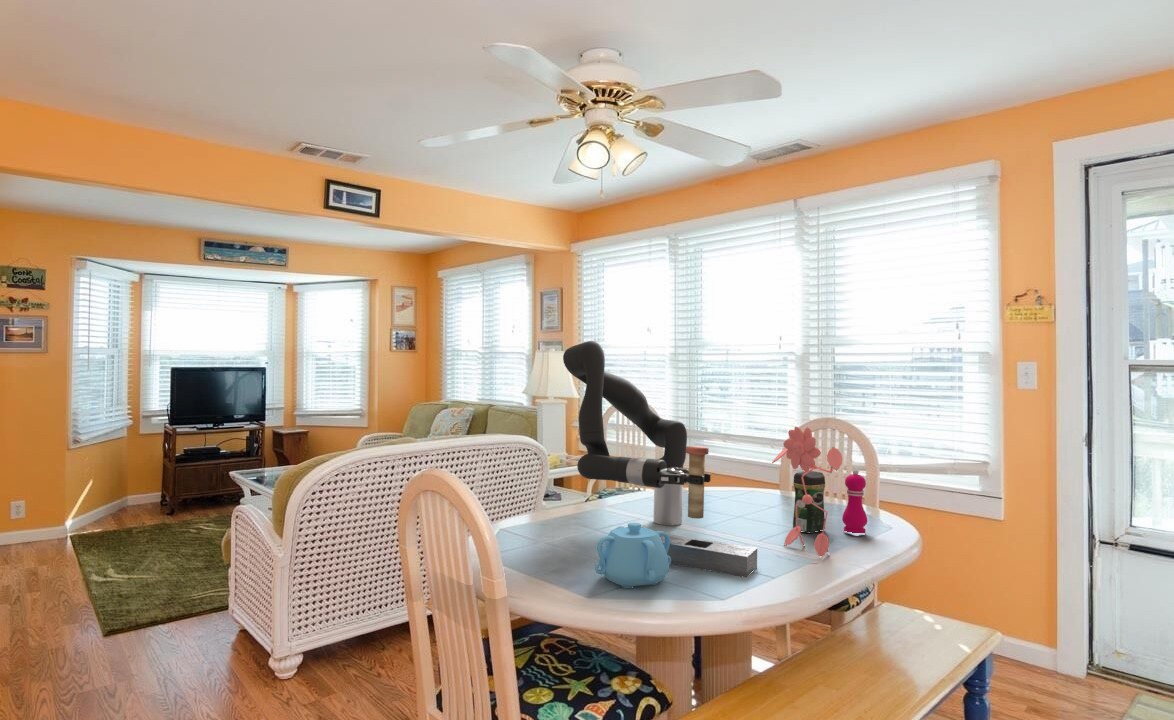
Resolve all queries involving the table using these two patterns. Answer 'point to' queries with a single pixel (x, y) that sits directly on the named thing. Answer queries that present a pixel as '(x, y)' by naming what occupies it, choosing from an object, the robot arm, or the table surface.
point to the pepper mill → (855, 504)
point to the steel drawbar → (712, 555)
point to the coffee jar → (809, 514)
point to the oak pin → (696, 490)
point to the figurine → (804, 454)
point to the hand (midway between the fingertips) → (706, 479)
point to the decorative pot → (633, 556)
